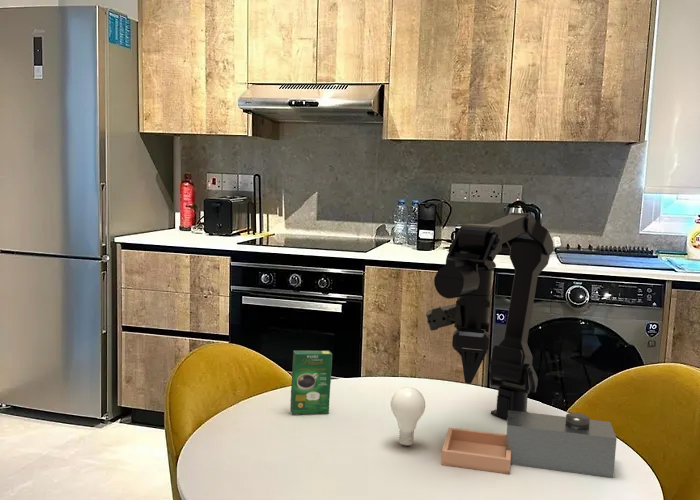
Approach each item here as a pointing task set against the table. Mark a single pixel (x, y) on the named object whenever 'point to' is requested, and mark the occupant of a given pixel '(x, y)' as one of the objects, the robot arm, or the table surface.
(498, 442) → the dish
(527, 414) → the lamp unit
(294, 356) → the coffee box
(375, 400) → the table surface
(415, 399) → the lightbulb
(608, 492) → the table surface
